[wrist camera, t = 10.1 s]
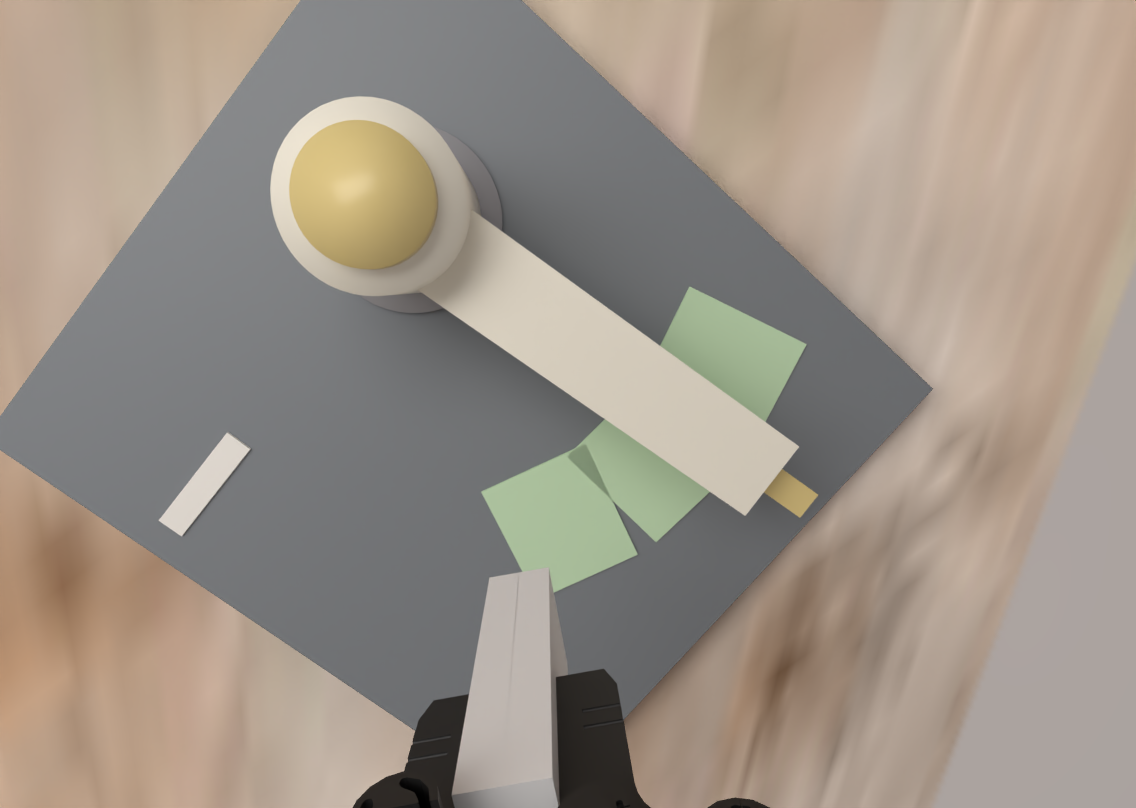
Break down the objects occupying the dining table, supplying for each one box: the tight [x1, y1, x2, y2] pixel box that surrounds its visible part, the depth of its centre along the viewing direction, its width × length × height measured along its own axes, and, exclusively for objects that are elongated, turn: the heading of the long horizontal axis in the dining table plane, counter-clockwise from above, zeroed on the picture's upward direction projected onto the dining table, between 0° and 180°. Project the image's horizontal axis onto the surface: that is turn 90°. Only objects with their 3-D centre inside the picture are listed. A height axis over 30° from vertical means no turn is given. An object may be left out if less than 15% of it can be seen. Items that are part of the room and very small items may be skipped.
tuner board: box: [0, 0, 933, 731], centre depth 24 cm, size 24×26×2 cm
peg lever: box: [270, 96, 818, 517], centre depth 20 cm, size 19×5×6 cm, turn 55°
